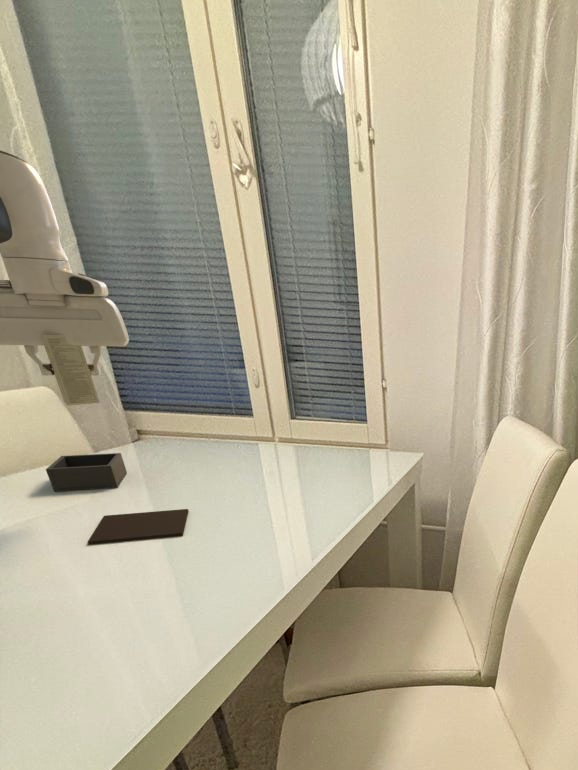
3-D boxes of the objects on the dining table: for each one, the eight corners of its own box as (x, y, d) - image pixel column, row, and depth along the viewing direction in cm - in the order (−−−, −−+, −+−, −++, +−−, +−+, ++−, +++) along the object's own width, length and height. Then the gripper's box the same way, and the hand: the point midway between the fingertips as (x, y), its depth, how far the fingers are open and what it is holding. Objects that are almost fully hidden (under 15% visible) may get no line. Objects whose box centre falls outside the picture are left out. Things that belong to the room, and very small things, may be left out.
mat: (88, 544, 89) (87, 541, 89) (104, 518, 100) (103, 515, 100) (183, 535, 94) (182, 532, 93) (188, 511, 105) (188, 508, 104)
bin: (54, 491, 114) (45, 469, 111) (68, 476, 124) (61, 455, 121) (117, 487, 117) (110, 465, 115) (127, 473, 127) (120, 452, 125)
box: (96, 400, 102) (75, 332, 96) (100, 403, 99) (79, 333, 93) (62, 402, 99) (38, 332, 93) (66, 405, 96) (42, 333, 90)
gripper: (-44, 277, 83) (-5, 377, 90) (110, 284, 90) (135, 376, 97) (-28, 279, 88) (7, 373, 96) (116, 285, 95) (139, 373, 102)
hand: (73, 375), depth 96 cm, fingers closed on box, 6 cm apart
